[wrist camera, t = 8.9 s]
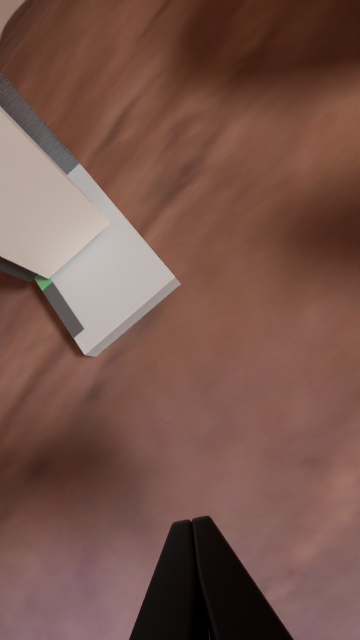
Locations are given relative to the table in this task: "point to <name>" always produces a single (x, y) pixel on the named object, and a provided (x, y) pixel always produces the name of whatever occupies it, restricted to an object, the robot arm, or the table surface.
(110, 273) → the base
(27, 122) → the brushed steel plate
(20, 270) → the cream upright slab
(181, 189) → the table surface
